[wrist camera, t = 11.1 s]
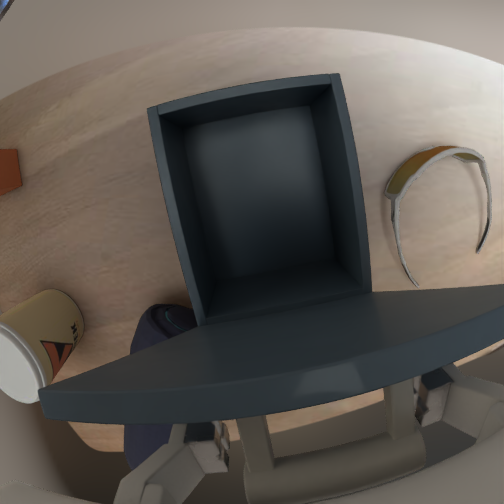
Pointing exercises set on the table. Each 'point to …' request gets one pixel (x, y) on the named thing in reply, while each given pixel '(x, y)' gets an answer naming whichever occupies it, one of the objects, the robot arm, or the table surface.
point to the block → (9, 171)
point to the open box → (263, 196)
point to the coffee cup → (37, 342)
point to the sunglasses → (415, 168)
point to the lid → (295, 381)
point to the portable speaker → (147, 334)
